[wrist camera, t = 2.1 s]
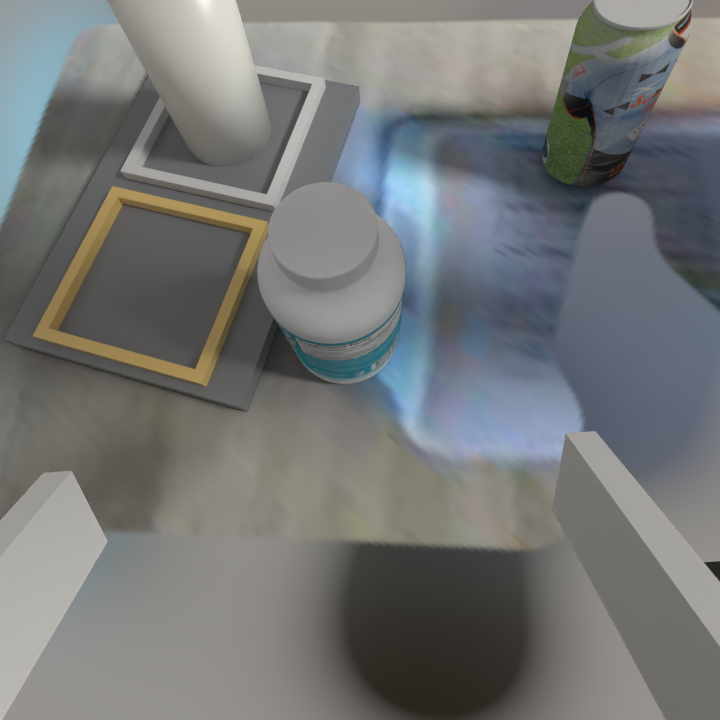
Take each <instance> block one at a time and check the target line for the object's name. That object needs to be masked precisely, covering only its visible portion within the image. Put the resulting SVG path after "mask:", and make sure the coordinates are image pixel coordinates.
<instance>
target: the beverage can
mask: <svg viewBox="0 0 720 720" xmlns="http://www.w3.org/2000/svg"><path fill="white" fill-rule="evenodd" d="M692 3H693V0H594V1H593V2H592V3H591V4H590V5H589V6H588V7H587V8H586V9H585V10H584V12H583V13H582V15H581V16H580V18H579V20H578V22H577V25H576V28H575V32H574V36H573V40H572V43H571V47H570V51H569V54H568V58H567V62H566V65H565V69H564V73H563V77H562V80H561V84H560V88H559V91H558V95H557V99H556V103H555V106H554V110H553V114H552V117H551V121H550V125H549V128H548V132H547V136H546V140H545V143H544V147H543V151H542V162H543V165H544V167H545V169H546V170H547V172H548V173H549V174H550V175H551V176H552V177H554V178H555V179H557V180H559V181H561V182H563V183H566V184H569V185H574V186H594V185H598V184H602V183H604V182H607V181H609V180H610V179H612V178H614V177H615V176H616V175H617V174H619V172H620V171H621V170H622V169H623V167H624V165H625V163H626V161H627V159H628V157H629V155H630V153H631V151H632V149H633V147H634V145H635V143H636V141H637V139H638V137H639V135H640V133H641V131H642V129H643V127H644V125H645V123H646V121H647V119H648V117H649V115H650V113H651V111H652V109H653V107H654V105H655V103H656V101H657V99H658V97H659V95H660V93H661V91H662V89H663V87H664V85H665V83H666V81H667V79H668V77H669V75H670V73H671V71H672V69H673V67H674V65H675V63H676V61H677V59H678V57H679V55H680V53H681V51H682V49H683V47H684V45H685V43H686V41H687V39H688V37H689V35H690V32H691V27H692V13H691V6H692Z"/></svg>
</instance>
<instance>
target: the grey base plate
mask: <svg viewBox="0 0 720 720" xmlns="http://www.w3.org/2000/svg"><path fill="white" fill-rule="evenodd" d="M255 69H256V72H257V76H258V79H259V83H260V86H261V90H262V93H263V97H264V100H265V103H266V107H267V110H268V114H269V117H270V121H271V135H270V138H269V141H268V143H267V145H266V146H265V147H264V149H263V150H262V151H261V152H260V153H259V154H258V155H257V156H255V157H254V158H252V159H251V160H249V161H247V162H245V163H242V164H239V165H236V166H231V167H216V166H211V165H207V164H205V163H203V162H201V161H199V160H198V159H197V158H195V157H194V156H193V155H192V153H191V152H190V150H189V149H188V147H187V145H186V143H185V141H184V140H183V138H182V136H181V134H180V132H179V131H178V129H177V127H176V125H175V123H174V121H173V120H172V118H171V116H170V114H169V112H168V111H167V109H166V107H165V105H164V103H163V101H162V100H161V98H160V96H159V94H158V92H157V91H156V89H155V87H154V85H153V83H152V81H151V80H150V78H149V76H148V78H147V80H146V81H145V83H144V85H143V87H142V89H141V91H140V92H139V94H138V96H137V98H136V100H135V101H134V103H133V105H132V107H131V109H130V110H129V112H128V114H127V116H126V118H125V119H124V121H123V123H122V125H121V127H120V129H119V130H118V132H117V134H116V136H115V138H114V139H113V141H112V143H111V145H110V147H109V148H108V150H107V152H106V154H105V156H104V157H103V159H102V161H101V163H100V165H99V167H98V168H97V170H96V172H95V174H94V176H93V177H92V179H91V181H90V183H89V185H88V186H87V188H86V190H85V192H84V194H83V195H82V197H81V199H80V201H79V203H78V205H77V206H76V208H75V210H74V212H73V214H72V215H71V217H70V219H69V221H68V223H67V224H66V226H65V228H64V230H63V232H62V233H61V235H60V237H59V239H58V241H57V243H56V244H55V246H54V248H53V250H52V252H51V253H50V255H49V257H48V259H47V261H46V262H45V264H44V266H43V268H42V270H41V272H40V273H39V275H38V277H37V279H36V281H35V282H34V284H33V286H32V288H31V290H30V291H29V293H28V295H27V297H26V299H25V300H24V302H23V304H22V306H21V308H20V310H19V311H18V313H17V315H16V317H15V319H14V320H13V322H12V324H11V326H10V328H9V329H8V331H7V333H6V335H5V337H4V338H3V340H5V341H8V342H10V343H13V344H15V345H17V346H20V347H23V348H27V349H30V350H34V351H37V352H41V353H44V354H48V355H51V356H55V357H58V358H62V359H65V360H69V361H72V362H76V363H79V364H83V365H86V366H90V367H93V368H97V369H100V370H104V371H107V372H110V373H114V374H117V375H121V376H124V377H128V378H131V379H135V380H138V381H142V382H145V383H149V384H152V385H156V386H159V387H163V388H166V389H170V390H173V391H177V392H180V393H184V394H187V395H191V396H194V397H198V398H201V399H205V400H208V401H212V402H215V403H219V404H222V405H225V406H229V407H232V408H236V409H239V410H243V411H246V412H247V411H248V408H249V405H250V403H251V400H252V397H253V394H254V392H255V389H256V386H257V383H258V381H259V378H260V375H261V372H262V370H263V367H264V364H265V361H266V359H267V356H268V353H269V350H270V348H271V345H272V342H273V339H274V337H275V334H276V331H277V328H278V326H279V325H278V324H277V322H276V321H275V319H274V318H273V316H272V314H271V313H270V311H269V309H268V308H267V306H266V304H265V302H264V300H263V298H262V296H261V293H260V290H259V285H258V277H257V268H258V260H259V255H260V252H261V249H262V246H263V244H264V242H265V240H266V238H267V237H268V226H269V221H270V218H271V216H272V214H273V212H274V210H275V208H276V207H277V205H278V204H279V203H280V202H281V201H282V200H283V199H284V198H285V197H286V196H287V195H288V194H290V193H291V192H293V191H294V190H296V189H298V188H300V187H303V186H305V185H309V184H313V183H319V182H331V180H332V177H333V175H334V172H335V169H336V166H337V164H338V161H339V158H340V155H341V153H342V150H343V147H344V144H345V142H346V139H347V136H348V133H349V131H350V128H351V125H352V122H353V120H354V117H355V114H356V111H357V109H358V106H359V103H360V95H359V86H354V85H348V84H343V83H337V82H332V81H326V80H325V78H321V77H315V76H310V75H304V74H299V73H293V72H288V71H282V70H277V69H271V68H266V67H261V66H255Z"/></svg>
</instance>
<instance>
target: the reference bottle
mask: <svg viewBox="0 0 720 720" xmlns="http://www.w3.org/2000/svg"><path fill="white" fill-rule="evenodd" d="M107 2H108V3H109V5H110V7H111V9H112V11H113V12H114V14H115V16H116V18H117V20H118V22H119V23H120V25H121V27H122V29H123V31H124V32H125V34H126V36H127V38H128V40H129V42H130V43H131V45H132V47H133V49H134V51H135V52H136V54H137V56H138V58H139V60H140V62H141V63H142V65H143V67H144V69H145V71H146V72H147V74H148V76H149V78H150V80H151V81H152V83H153V85H154V87H155V89H156V91H157V92H158V94H159V96H160V98H161V100H162V101H163V103H164V105H165V107H166V109H167V111H168V112H169V114H170V116H171V118H172V120H173V121H174V123H175V125H176V127H177V129H178V131H179V132H180V134H181V136H182V138H183V140H184V141H185V143H186V145H187V147H188V149H189V150H190V152H191V153H192V155H193V156H194V157H195V158H197V159H198V160H199V161H201V162H203V163H205V164H207V165H211V166H216V167H231V166H236V165H239V164H242V163H245V162H247V161H249V160H251V159H252V158H254V157H255V156H257V155H258V154H259V153H260V152H261V151H262V150H263V149H264V147H265V146H266V145H267V143H268V141H269V138H270V135H271V121H270V117H269V114H268V110H267V107H266V103H265V100H264V97H263V93H262V90H261V86H260V83H259V79H258V76H257V72H256V69H255V65H254V62H253V58H252V55H251V52H250V48H249V45H248V41H247V38H246V34H245V31H244V27H243V24H242V20H241V17H240V14H239V10H238V7H237V3H236V0H107Z"/></svg>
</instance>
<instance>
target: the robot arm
mask: <svg viewBox="0 0 720 720" xmlns="http://www.w3.org/2000/svg"><path fill="white" fill-rule="evenodd" d="M552 510H553V512H554V514H555V516H556V517H557V519H558V521H559V523H560V525H561V527H562V529H563V530H564V532H565V534H566V536H567V538H568V540H569V541H570V543H571V545H572V547H573V549H574V551H575V552H576V554H577V556H578V558H579V560H580V562H581V564H582V566H583V567H584V569H585V571H586V573H587V575H588V577H589V579H590V580H591V582H592V584H593V586H594V588H595V590H596V591H597V593H598V595H599V597H600V599H601V601H602V602H603V605H604V606H605V608H606V610H607V612H608V614H609V616H610V617H611V619H612V621H613V623H614V625H615V627H616V629H617V631H618V632H619V634H620V636H621V638H622V640H623V642H624V643H625V645H626V647H627V649H628V651H629V653H630V655H631V656H632V658H633V660H634V662H635V664H636V666H637V668H638V669H639V671H640V673H641V675H642V677H643V679H644V681H645V682H646V684H647V686H648V688H649V690H650V692H651V694H652V695H653V697H654V699H655V701H656V703H657V705H658V706H659V708H660V710H661V712H662V714H663V716H664V718H665V719H666V720H720V561H719V562H703V561H702V560H701V558H700V557H699V556H698V555H697V554H696V552H695V551H694V550H693V549H692V548H691V546H690V545H689V544H688V543H687V542H686V540H685V539H684V538H683V537H682V536H681V534H680V533H679V532H678V531H677V529H676V528H675V527H674V526H673V525H672V523H671V522H670V521H669V520H668V519H667V517H666V516H665V515H664V514H663V513H662V511H661V510H660V509H659V508H658V506H657V505H656V504H655V503H654V502H653V500H652V499H651V498H650V497H649V496H648V494H647V493H646V492H645V491H644V490H643V488H642V487H641V486H640V485H639V484H638V482H637V481H636V480H635V479H634V477H633V476H632V475H631V474H630V473H629V471H628V470H627V469H626V468H625V467H624V465H623V464H622V463H621V462H620V461H619V459H618V458H617V457H616V456H615V454H614V453H613V452H612V451H611V450H610V448H609V447H608V446H607V445H606V444H605V442H604V441H603V440H602V439H601V438H600V437H599V435H598V434H597V433H596V432H595V431H594V432H580V433H566V436H565V441H564V447H563V452H562V458H561V463H560V469H559V474H558V480H557V486H556V491H555V497H554V502H553V508H552ZM107 542H108V541H107V539H106V537H105V535H104V533H103V531H102V529H101V527H100V525H99V523H98V522H97V520H96V518H95V516H94V514H93V512H92V510H91V508H90V506H89V504H88V502H87V500H86V498H85V496H84V494H83V492H82V490H81V488H80V486H79V484H78V482H77V480H76V478H75V476H74V475H73V473H72V471H61V472H48V473H43V474H42V475H41V476H40V477H39V478H38V479H37V480H36V481H35V483H34V484H33V485H32V486H31V487H30V488H29V489H28V490H27V491H26V493H25V494H24V495H23V496H22V497H21V498H20V499H19V500H18V501H17V502H16V504H15V505H14V506H13V507H12V508H11V509H10V510H9V511H8V512H7V514H6V515H5V516H4V517H3V518H2V519H1V520H0V720H2V719H3V716H4V715H5V714H6V712H7V710H8V708H9V707H10V705H11V704H12V702H13V700H14V698H15V697H16V695H17V693H18V691H19V690H20V688H21V687H22V685H23V683H24V681H25V680H26V678H27V677H28V675H29V673H30V671H31V670H32V668H33V666H34V665H35V663H36V661H37V660H38V658H39V656H40V655H41V653H42V651H43V650H44V648H45V646H46V644H47V643H48V641H49V640H50V638H51V636H52V635H53V633H54V631H55V629H56V628H57V626H58V624H59V623H60V621H61V619H62V617H63V616H64V614H65V612H66V611H67V609H68V608H69V606H70V604H71V603H72V601H73V599H74V598H75V596H76V594H77V592H78V591H79V589H80V587H81V586H82V584H83V582H84V581H85V579H86V577H87V575H88V574H89V572H90V571H91V569H92V567H93V565H94V564H95V562H96V560H97V559H98V557H99V555H100V554H101V552H102V550H103V549H104V547H105V545H106V544H107Z"/></svg>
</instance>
